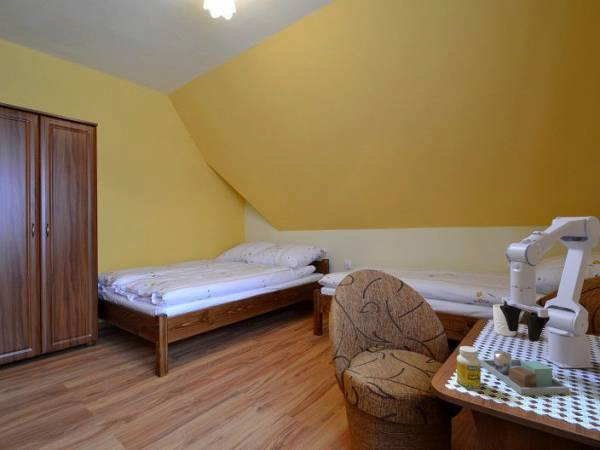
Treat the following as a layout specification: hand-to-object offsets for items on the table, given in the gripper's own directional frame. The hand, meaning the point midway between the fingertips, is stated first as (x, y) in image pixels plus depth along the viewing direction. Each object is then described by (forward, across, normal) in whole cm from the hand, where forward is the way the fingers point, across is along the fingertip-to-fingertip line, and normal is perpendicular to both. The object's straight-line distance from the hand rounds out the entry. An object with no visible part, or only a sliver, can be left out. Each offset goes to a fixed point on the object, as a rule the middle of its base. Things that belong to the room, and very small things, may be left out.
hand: (523, 335), depth 86 cm
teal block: (+10, +6, -1) cm, 12 cm away
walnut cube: (+10, +8, -6) cm, 14 cm away
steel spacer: (+10, 0, -6) cm, 11 cm away
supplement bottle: (+11, +6, -19) cm, 23 cm away
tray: (+10, +4, -4) cm, 12 cm away
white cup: (+11, -31, +17) cm, 37 cm away
